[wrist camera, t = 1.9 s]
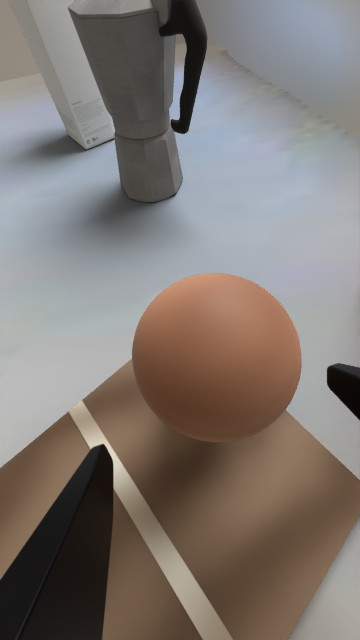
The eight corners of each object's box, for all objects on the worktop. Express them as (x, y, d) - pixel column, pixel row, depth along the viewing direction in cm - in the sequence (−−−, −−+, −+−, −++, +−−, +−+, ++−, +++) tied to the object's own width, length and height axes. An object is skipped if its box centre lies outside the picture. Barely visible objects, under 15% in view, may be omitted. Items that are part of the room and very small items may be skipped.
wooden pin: (243, 395, 16) (398, 321, 4) (198, 444, 15) (232, 546, 3) (199, 350, 18) (217, 208, 6) (155, 391, 17) (62, 314, 5)
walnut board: (361, 488, 14) (374, 493, 13) (89, 937, 8) (75, 1006, 7) (185, 319, 21) (184, 314, 20) (-39, 507, 15) (-56, 514, 14)
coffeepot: (100, 184, 31) (4, -66, 15) (142, 156, 34) (100, -78, 18) (176, 225, 27) (155, -75, 10) (218, 189, 30) (252, -90, 13)
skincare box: (116, 138, 37) (72, -30, 23) (84, 152, 36) (16, -20, 22) (96, 123, 41) (46, -34, 27) (65, 134, 39) (-5, -25, 25)
